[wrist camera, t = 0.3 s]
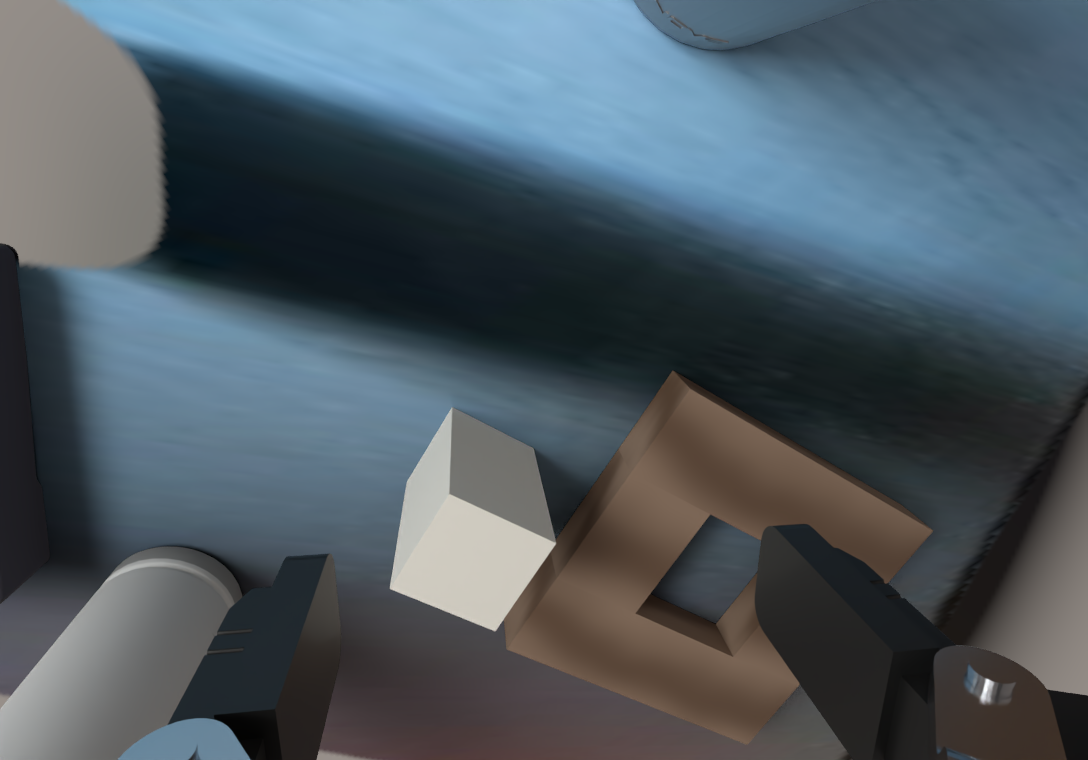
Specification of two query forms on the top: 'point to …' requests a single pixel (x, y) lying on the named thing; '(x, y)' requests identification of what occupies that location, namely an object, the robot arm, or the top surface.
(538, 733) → the top surface
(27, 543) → the calculator
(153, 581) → the travel mug
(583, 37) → the top surface
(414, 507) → the peg
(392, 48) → the top surface
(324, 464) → the top surface
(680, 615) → the socket base
